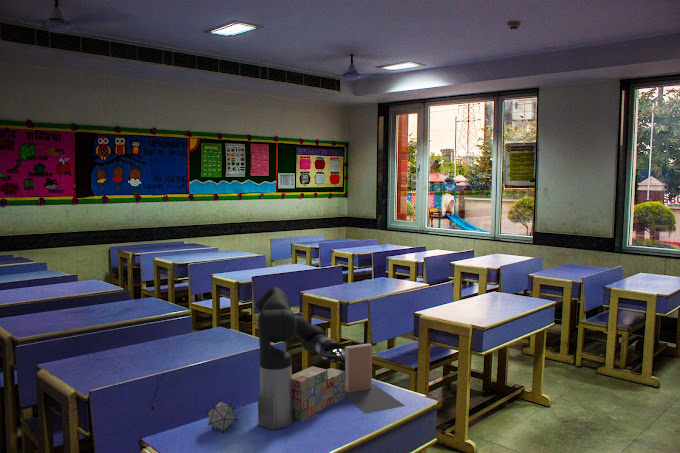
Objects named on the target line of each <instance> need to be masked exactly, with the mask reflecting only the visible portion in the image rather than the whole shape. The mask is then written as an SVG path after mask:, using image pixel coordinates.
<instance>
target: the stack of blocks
mask: <svg viewBox="0 0 680 453" xmlns="http://www.w3.org/2000/svg"><path fill="white" fill-rule="evenodd" d="M345 389H346V381H345V370H340V369H336V368H333V367H330V368H327V369H326V368H321V367H316V366H309V367H308V368H305V369H302V370H301V371H298V372H296V373H293V374H292V419H295V420H297V421H301V422H303V421H305V420H307V419H309V418H312V417H313V416H316V415H317V414H318V412H320V411H322V410H323V409H325V408H328V407H329V406H331V405H333V404H336V403H339V402H340V401H342V400H344V399H347V398H346V390H345Z"/></svg>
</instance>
